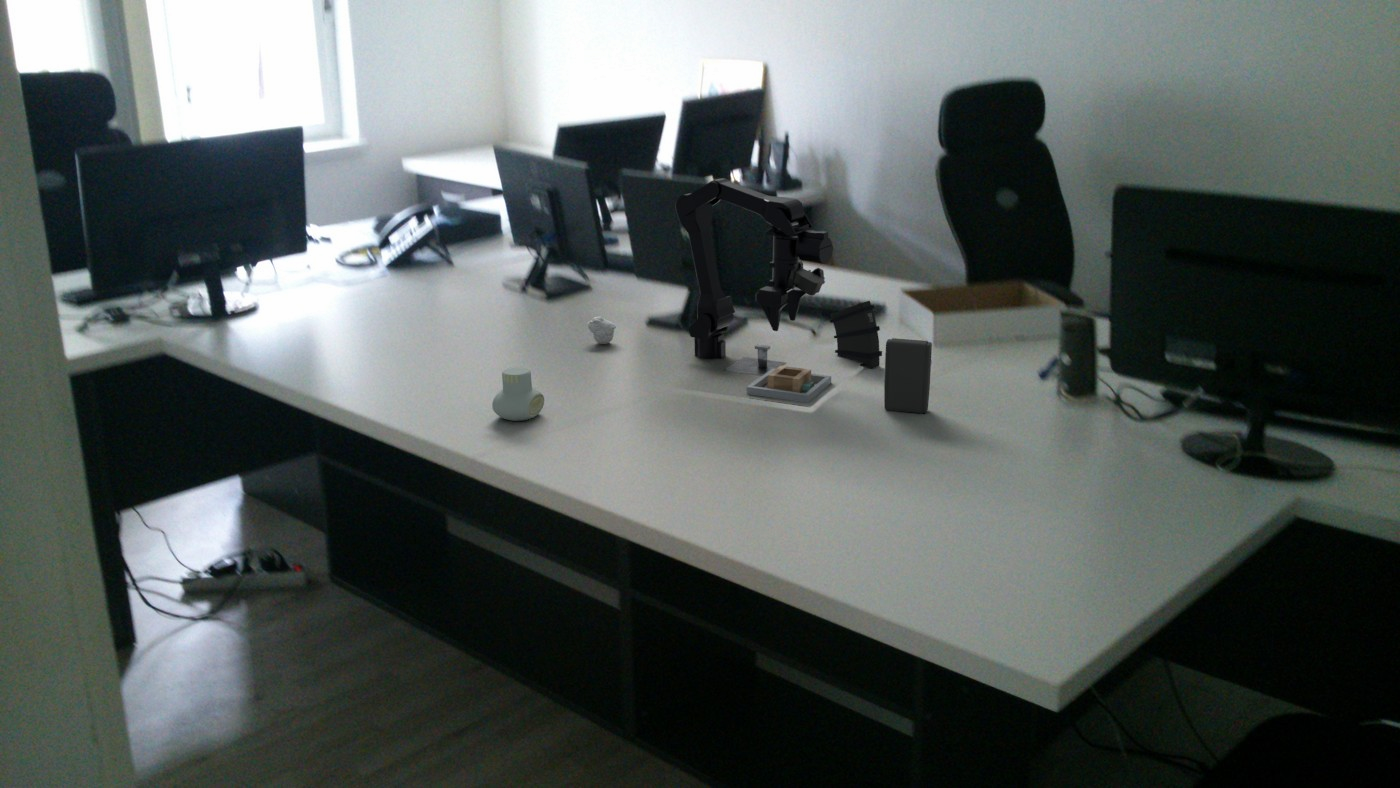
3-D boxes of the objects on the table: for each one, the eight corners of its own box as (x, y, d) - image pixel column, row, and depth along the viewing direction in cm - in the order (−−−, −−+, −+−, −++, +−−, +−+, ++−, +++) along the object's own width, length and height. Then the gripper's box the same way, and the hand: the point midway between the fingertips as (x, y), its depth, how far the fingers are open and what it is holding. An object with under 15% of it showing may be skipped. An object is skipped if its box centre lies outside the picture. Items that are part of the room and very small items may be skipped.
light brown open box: (805, 398, 254) (805, 380, 253) (767, 392, 258) (767, 375, 257) (817, 387, 260) (818, 370, 259) (780, 382, 264) (780, 365, 263)
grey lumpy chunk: (588, 341, 299) (586, 314, 297) (616, 339, 300) (615, 312, 298) (588, 348, 294) (587, 320, 291) (617, 346, 294) (616, 319, 292)
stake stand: (723, 374, 272) (723, 349, 270) (743, 361, 282) (743, 337, 280) (767, 380, 268) (767, 355, 266) (786, 366, 277) (786, 342, 275)
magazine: (881, 365, 271) (861, 302, 271) (841, 377, 282) (822, 316, 282) (891, 362, 273) (872, 299, 274) (852, 374, 284) (833, 313, 284)
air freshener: (524, 427, 242) (521, 380, 239) (488, 423, 245) (485, 377, 242) (549, 410, 252) (546, 364, 249) (514, 406, 255) (511, 361, 251)
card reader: (930, 409, 248) (933, 339, 243) (927, 415, 245) (930, 345, 240) (886, 404, 251) (889, 336, 246) (882, 411, 248) (885, 341, 243)
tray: (746, 397, 257) (746, 386, 256) (772, 378, 269) (772, 368, 268) (807, 406, 251) (807, 395, 250) (831, 387, 263) (831, 376, 262)
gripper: (802, 270, 251) (800, 341, 256) (836, 252, 267) (833, 320, 272) (754, 264, 256) (753, 334, 261) (790, 247, 271) (788, 313, 277)
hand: (784, 325), depth 268 cm, fingers open, 9 cm apart
